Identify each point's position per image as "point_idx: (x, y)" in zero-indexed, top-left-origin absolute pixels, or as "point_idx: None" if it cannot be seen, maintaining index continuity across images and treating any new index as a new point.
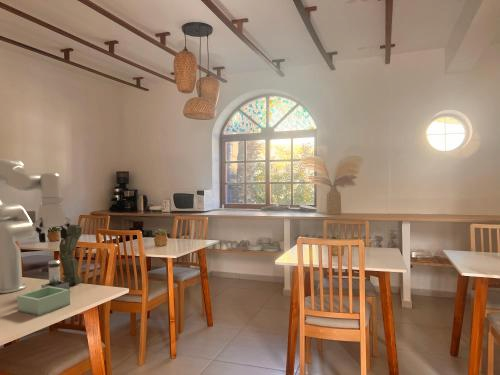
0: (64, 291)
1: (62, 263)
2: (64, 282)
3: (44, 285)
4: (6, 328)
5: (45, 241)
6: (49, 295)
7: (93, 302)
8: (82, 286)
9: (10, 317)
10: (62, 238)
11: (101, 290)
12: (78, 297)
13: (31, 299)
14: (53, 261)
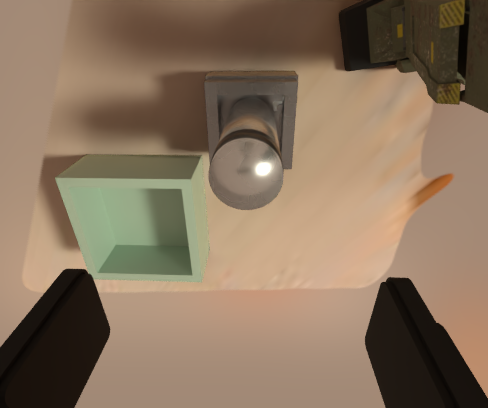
0: (182, 281)
1: (421, 12)
2: (282, 152)
3: (209, 103)
4: (31, 247)
5: (107, 337)
6: (132, 274)
7: (250, 288)
8: (386, 115)
9: (54, 186)
10: (381, 298)
11: (352, 230)
12: (266, 219)
13: (83, 251)
14: (238, 181)
